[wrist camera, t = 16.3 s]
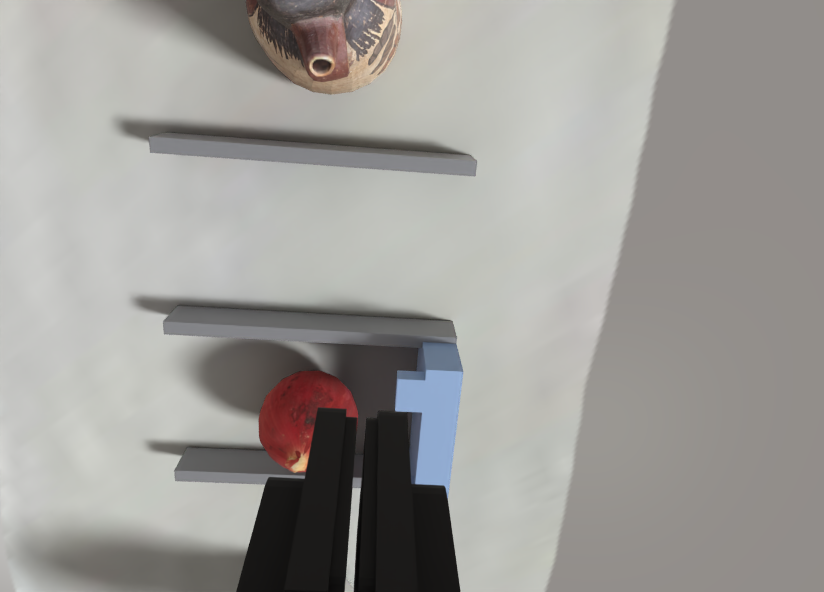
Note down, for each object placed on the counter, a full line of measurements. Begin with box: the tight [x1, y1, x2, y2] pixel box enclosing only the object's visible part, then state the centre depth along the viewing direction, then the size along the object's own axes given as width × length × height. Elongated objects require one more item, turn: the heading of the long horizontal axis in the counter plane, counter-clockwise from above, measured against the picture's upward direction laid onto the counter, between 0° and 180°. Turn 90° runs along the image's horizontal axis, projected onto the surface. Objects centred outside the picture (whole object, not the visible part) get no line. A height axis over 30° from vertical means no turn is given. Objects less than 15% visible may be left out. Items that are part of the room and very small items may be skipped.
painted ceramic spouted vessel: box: [246, 0, 402, 94], centre depth 25 cm, size 7×7×12 cm
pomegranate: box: [259, 371, 358, 473], centre depth 35 cm, size 6×6×8 cm
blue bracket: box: [395, 342, 463, 499], centre depth 36 cm, size 10×4×6 cm, turn 175°
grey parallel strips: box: [149, 132, 477, 488], centre depth 35 cm, size 21×17×2 cm
